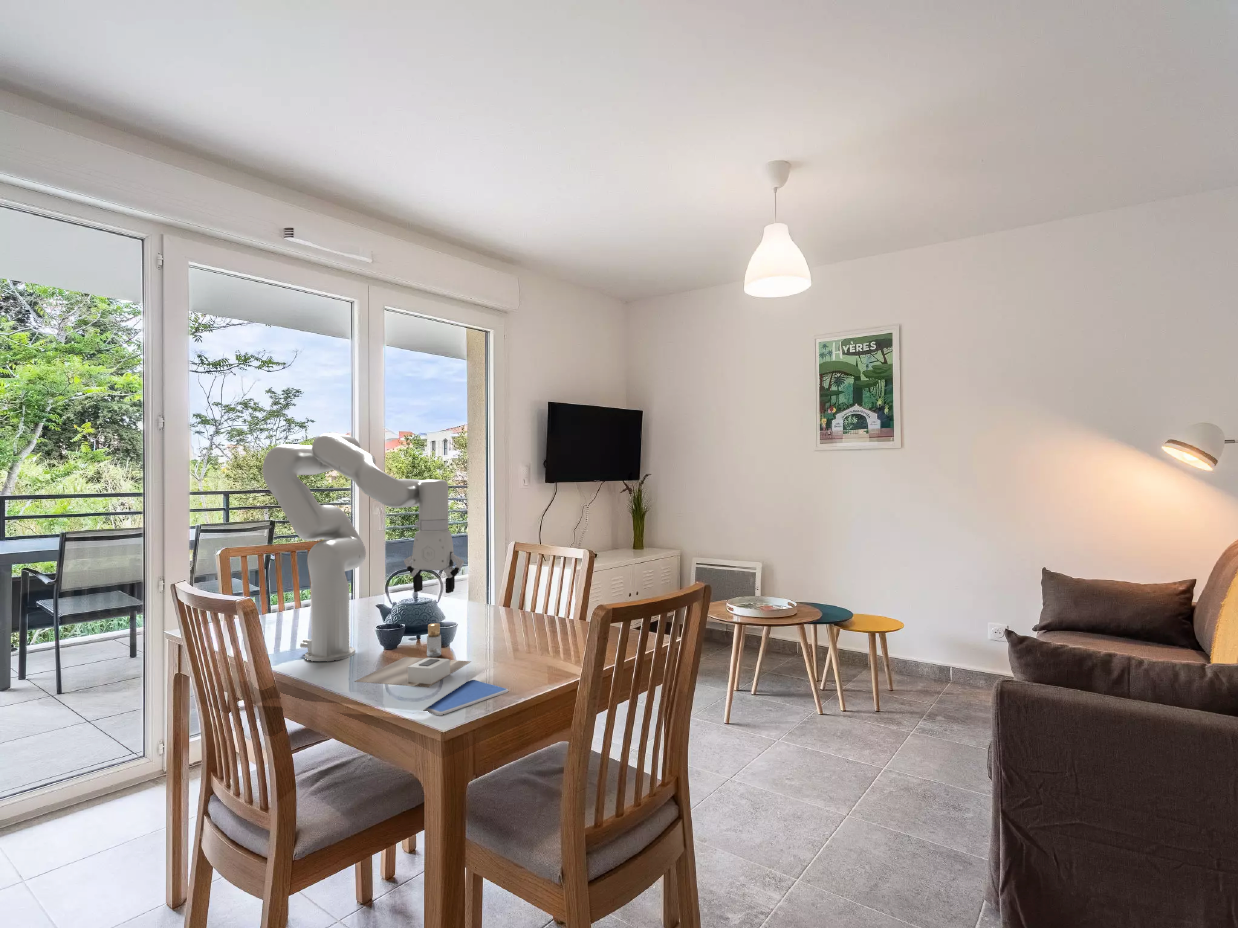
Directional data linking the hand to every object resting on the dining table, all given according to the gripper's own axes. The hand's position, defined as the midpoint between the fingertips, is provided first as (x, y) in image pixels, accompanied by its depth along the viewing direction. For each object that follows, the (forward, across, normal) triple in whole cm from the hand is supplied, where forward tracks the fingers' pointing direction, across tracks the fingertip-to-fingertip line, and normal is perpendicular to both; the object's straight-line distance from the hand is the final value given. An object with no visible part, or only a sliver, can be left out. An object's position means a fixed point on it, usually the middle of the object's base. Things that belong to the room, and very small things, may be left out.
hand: (433, 591), depth 175 cm
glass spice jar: (+18, 0, 0) cm, 18 cm away
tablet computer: (+19, +20, -25) cm, 37 cm away
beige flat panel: (+18, +3, -14) cm, 23 cm away
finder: (+17, +9, -18) cm, 26 cm away
